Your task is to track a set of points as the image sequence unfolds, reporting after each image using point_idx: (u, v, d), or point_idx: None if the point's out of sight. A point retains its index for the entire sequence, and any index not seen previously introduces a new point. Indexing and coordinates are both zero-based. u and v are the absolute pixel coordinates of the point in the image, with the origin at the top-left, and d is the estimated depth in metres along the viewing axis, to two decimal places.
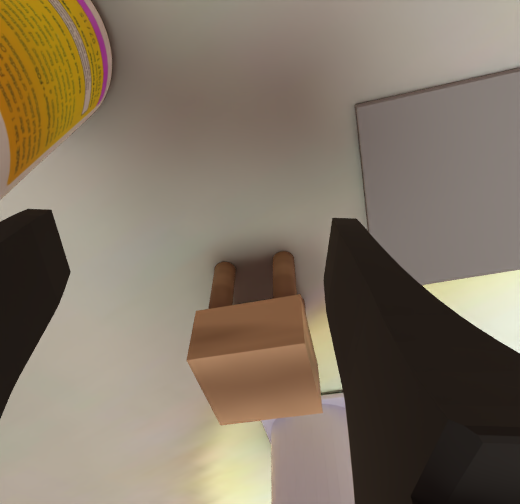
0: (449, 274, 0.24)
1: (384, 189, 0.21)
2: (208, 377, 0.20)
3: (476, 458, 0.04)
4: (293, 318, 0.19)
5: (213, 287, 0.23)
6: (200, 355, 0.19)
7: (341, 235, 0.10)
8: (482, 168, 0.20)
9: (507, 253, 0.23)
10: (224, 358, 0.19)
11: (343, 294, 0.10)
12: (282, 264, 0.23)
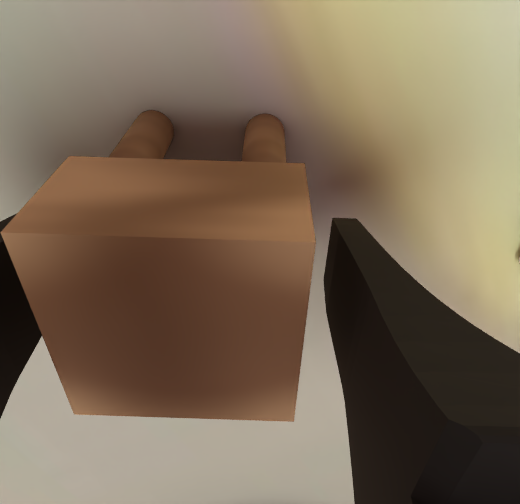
0: None
1: None
2: (128, 401, 0.10)
3: (476, 458, 0.04)
4: None
5: None
6: None
7: (341, 235, 0.10)
8: None
9: None
10: (69, 370, 0.09)
11: (343, 294, 0.10)
12: None
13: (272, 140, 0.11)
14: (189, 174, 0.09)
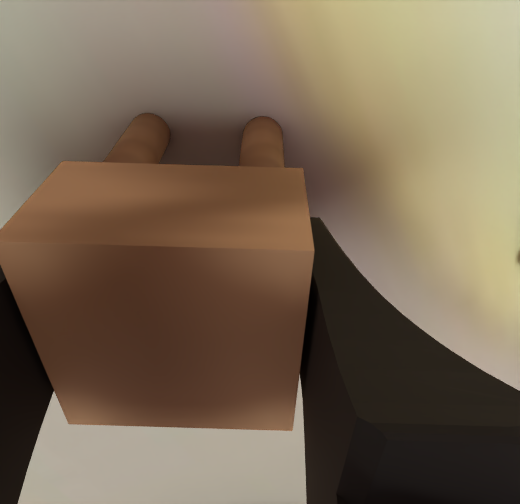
0: None
1: None
2: (123, 411, 0.10)
3: (385, 455, 0.04)
4: None
5: None
6: None
7: None
8: None
9: None
10: (62, 380, 0.09)
11: None
12: None
13: (270, 144, 0.11)
14: (185, 180, 0.09)
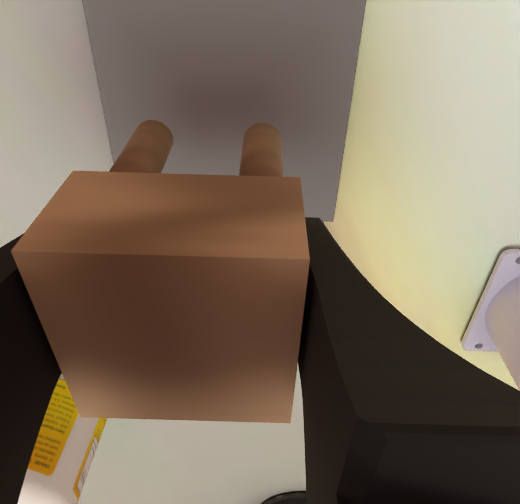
0: (334, 147, 0.20)
1: None
2: (131, 405, 0.10)
3: (385, 455, 0.04)
4: None
5: None
6: None
7: None
8: (196, 114, 0.19)
9: (323, 80, 0.18)
10: (75, 376, 0.10)
11: None
12: None
13: (269, 151, 0.12)
14: (189, 189, 0.09)
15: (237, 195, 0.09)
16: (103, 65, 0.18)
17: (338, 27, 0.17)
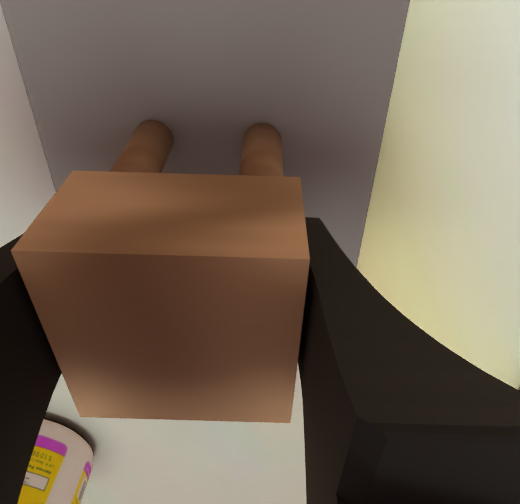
0: (354, 214, 0.15)
1: None
2: (131, 405, 0.10)
3: (386, 455, 0.04)
4: None
5: None
6: None
7: None
8: None
9: (341, 133, 0.14)
10: (75, 376, 0.10)
11: None
12: None
13: (269, 151, 0.12)
14: (189, 189, 0.09)
15: (237, 195, 0.09)
16: (45, 114, 0.13)
17: (364, 65, 0.12)
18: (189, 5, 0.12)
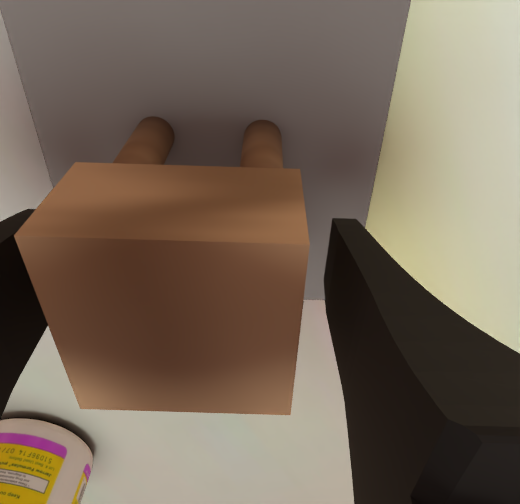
0: (354, 215, 0.15)
1: None
2: (131, 396, 0.10)
3: (476, 458, 0.04)
4: None
5: None
6: None
7: (341, 235, 0.10)
8: None
9: (341, 134, 0.14)
10: (75, 366, 0.10)
11: (343, 294, 0.10)
12: None
13: (269, 146, 0.12)
14: (190, 179, 0.09)
15: (238, 185, 0.09)
16: (43, 115, 0.13)
17: (364, 66, 0.12)
18: (189, 5, 0.12)
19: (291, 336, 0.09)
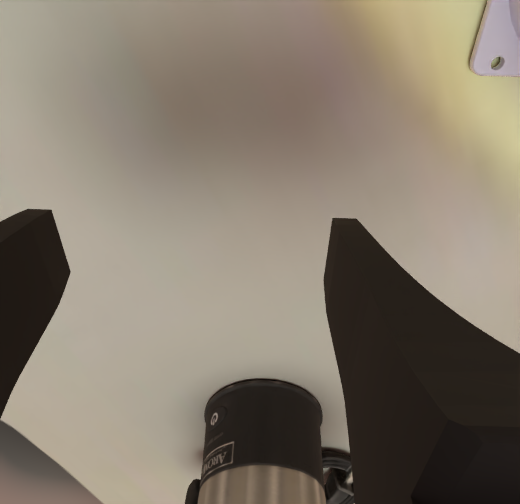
0: None
1: None
2: None
3: (476, 458, 0.04)
4: None
5: None
6: None
7: (341, 235, 0.10)
8: None
9: None
10: None
11: (343, 294, 0.10)
12: None
13: None
14: None
15: None
16: None
17: None
18: None
19: None
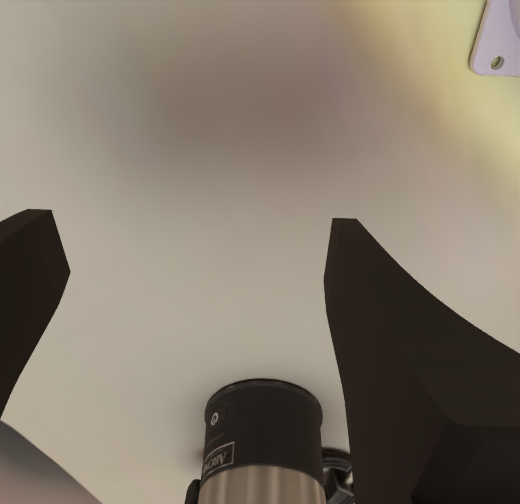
0: None
1: None
2: None
3: (476, 458, 0.04)
4: None
5: None
6: None
7: (341, 235, 0.10)
8: None
9: None
10: None
11: (343, 294, 0.10)
12: None
13: None
14: None
15: None
16: None
17: None
18: None
19: None
